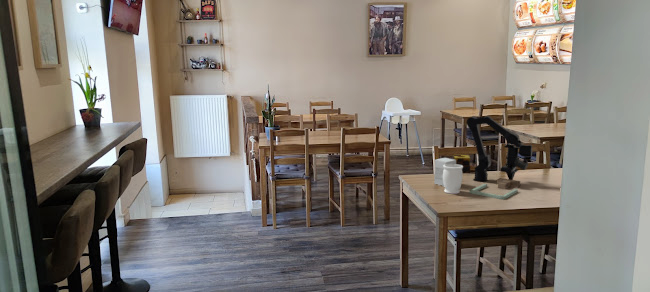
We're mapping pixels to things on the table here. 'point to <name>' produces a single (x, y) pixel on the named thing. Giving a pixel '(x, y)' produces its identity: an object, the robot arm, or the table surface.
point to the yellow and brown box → (463, 162)
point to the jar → (452, 178)
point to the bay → (476, 191)
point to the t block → (507, 183)
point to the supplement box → (441, 169)
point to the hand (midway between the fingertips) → (510, 181)
